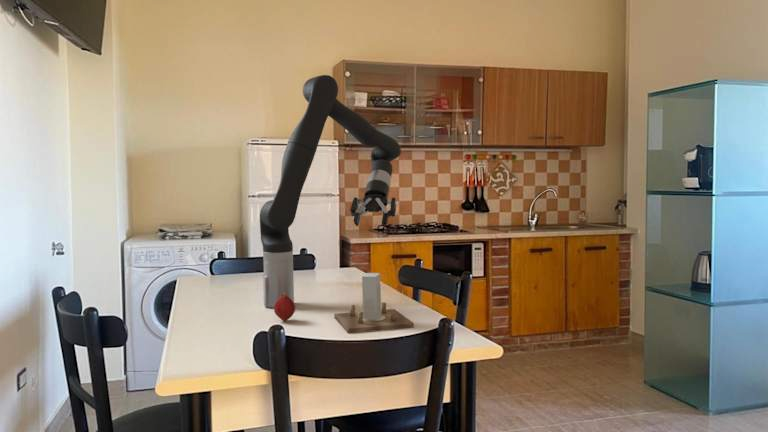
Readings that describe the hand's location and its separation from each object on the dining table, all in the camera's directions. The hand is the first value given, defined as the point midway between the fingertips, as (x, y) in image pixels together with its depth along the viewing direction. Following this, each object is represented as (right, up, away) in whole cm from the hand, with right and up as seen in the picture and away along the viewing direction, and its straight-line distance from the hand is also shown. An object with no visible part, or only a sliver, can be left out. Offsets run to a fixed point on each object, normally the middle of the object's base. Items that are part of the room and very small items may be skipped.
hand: (369, 224), depth 192 cm
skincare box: (+1, -26, -20) cm, 33 cm away
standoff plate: (+1, -27, -20) cm, 34 cm away
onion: (-24, -27, -17) cm, 40 cm away
